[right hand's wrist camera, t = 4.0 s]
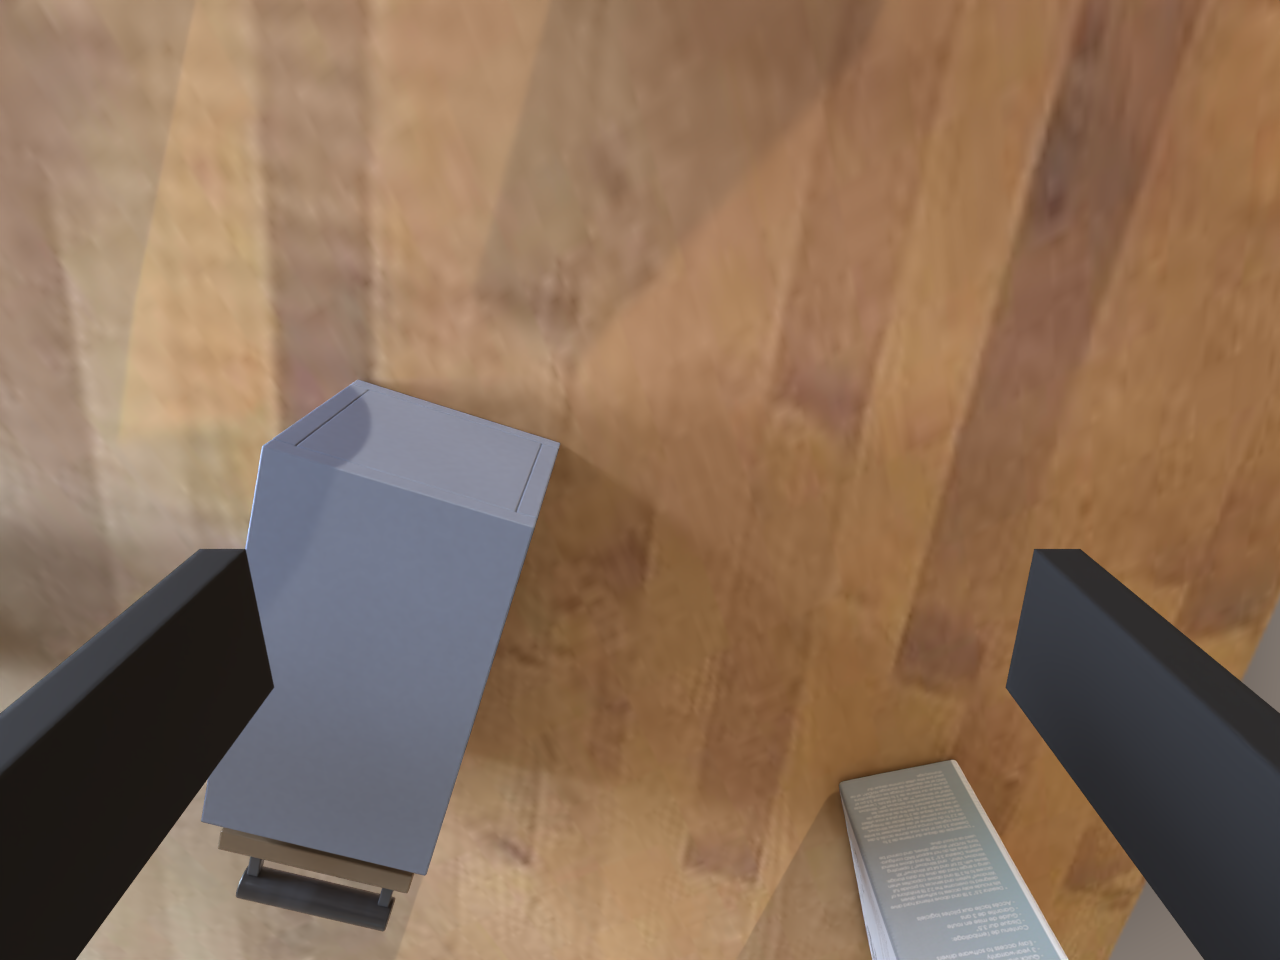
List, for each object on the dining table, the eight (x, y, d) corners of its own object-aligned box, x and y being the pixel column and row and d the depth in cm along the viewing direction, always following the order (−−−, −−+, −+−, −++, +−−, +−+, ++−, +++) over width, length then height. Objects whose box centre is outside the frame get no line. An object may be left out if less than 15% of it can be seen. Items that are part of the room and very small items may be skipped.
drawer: (425, 845, 48) (382, 975, 40) (275, 808, 47) (201, 935, 39) (527, 510, 40) (499, 592, 32) (348, 456, 39) (273, 527, 31)
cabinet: (470, 730, 46) (425, 876, 36) (295, 684, 45) (200, 822, 35) (560, 442, 39) (534, 527, 30) (357, 379, 38) (261, 445, 28)
